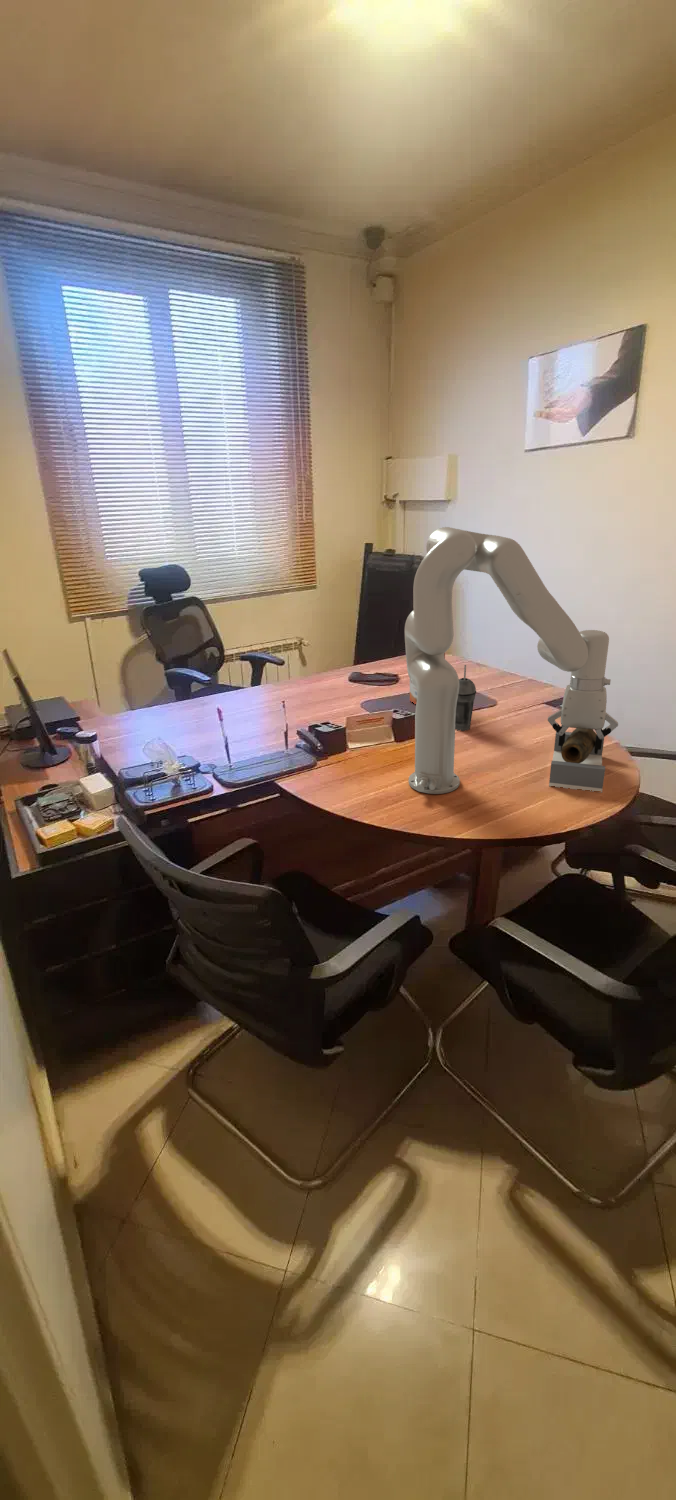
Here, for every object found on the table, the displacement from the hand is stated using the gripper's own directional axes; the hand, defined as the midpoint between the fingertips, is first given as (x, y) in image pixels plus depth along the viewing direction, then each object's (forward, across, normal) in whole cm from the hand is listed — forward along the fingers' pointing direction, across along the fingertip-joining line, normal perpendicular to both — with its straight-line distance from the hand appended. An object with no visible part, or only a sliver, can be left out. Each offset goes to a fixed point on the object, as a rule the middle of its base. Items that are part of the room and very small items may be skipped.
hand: (579, 749), depth 157 cm
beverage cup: (+6, +33, -22) cm, 40 cm away
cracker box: (+6, +48, -38) cm, 62 cm away
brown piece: (+2, 0, 0) cm, 2 cm away
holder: (+6, 0, 0) cm, 6 cm away
